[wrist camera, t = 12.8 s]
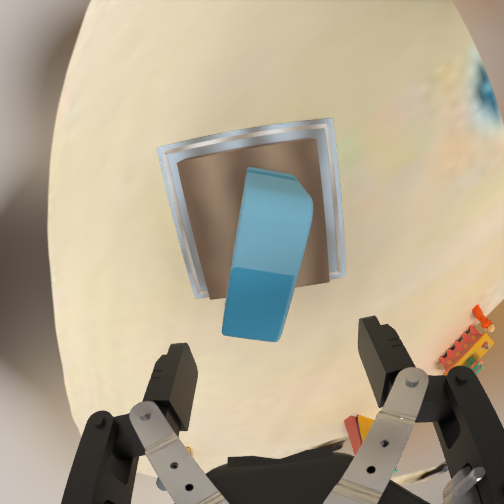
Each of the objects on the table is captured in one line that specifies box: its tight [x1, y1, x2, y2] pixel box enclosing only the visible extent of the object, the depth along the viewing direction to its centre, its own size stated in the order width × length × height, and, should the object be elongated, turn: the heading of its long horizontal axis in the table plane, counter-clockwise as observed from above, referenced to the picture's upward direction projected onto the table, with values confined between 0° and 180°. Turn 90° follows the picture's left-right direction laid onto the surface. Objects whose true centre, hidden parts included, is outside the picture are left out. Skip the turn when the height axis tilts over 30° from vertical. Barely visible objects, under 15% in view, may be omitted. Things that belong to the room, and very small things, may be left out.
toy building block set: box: [344, 305, 495, 473], centre depth 43 cm, size 12×35×14 cm, turn 145°
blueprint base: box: [157, 118, 345, 300], centre depth 34 cm, size 20×20×5 cm
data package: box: [222, 167, 313, 342], centre depth 26 cm, size 12×4×12 cm, turn 170°
